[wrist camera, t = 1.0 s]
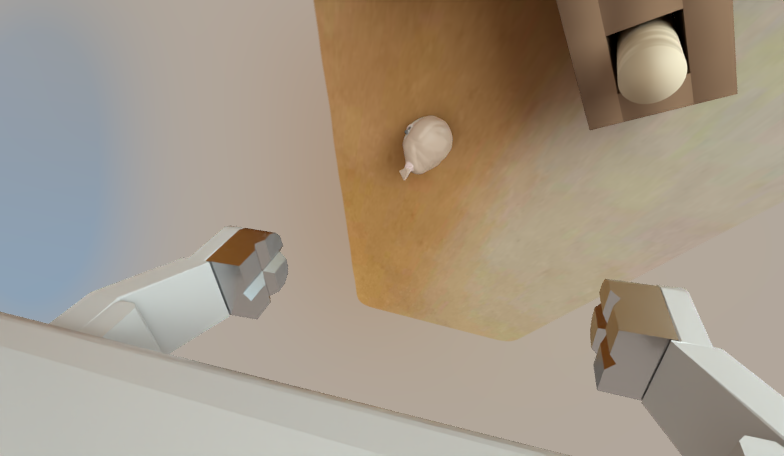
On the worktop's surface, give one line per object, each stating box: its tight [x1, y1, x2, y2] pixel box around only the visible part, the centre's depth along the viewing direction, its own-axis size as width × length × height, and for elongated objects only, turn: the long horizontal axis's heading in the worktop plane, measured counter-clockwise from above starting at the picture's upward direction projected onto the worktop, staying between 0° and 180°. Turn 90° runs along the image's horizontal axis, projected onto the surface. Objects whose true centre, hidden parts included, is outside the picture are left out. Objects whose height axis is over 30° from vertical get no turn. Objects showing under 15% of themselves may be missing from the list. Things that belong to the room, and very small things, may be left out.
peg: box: [616, 14, 687, 104], centre depth 31 cm, size 4×4×9 cm
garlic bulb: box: [399, 116, 453, 180], centre depth 50 cm, size 7×6×8 cm
